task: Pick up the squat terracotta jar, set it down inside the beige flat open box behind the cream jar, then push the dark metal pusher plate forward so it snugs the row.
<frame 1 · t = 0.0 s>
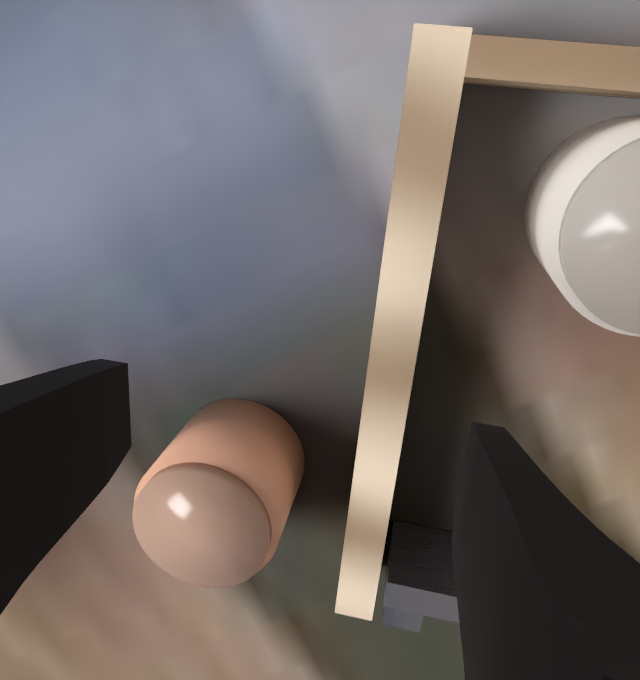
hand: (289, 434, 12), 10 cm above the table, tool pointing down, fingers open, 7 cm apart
pusher: (513, 616, 23), point 2 cm above the table, slide at 0.0 cm
beige flat open box: (567, 376, 20), on the table
terracotta jar: (242, 455, 24), on the table
cream jar: (614, 208, 18), resting in beige flat open box
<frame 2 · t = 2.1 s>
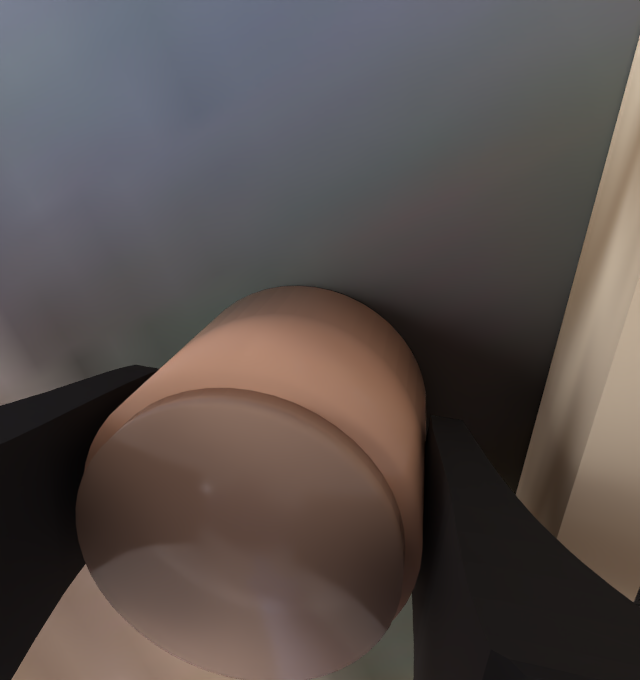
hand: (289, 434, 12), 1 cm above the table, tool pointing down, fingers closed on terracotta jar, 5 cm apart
terracotta jar: (303, 402, 13), on the table, touching gripper
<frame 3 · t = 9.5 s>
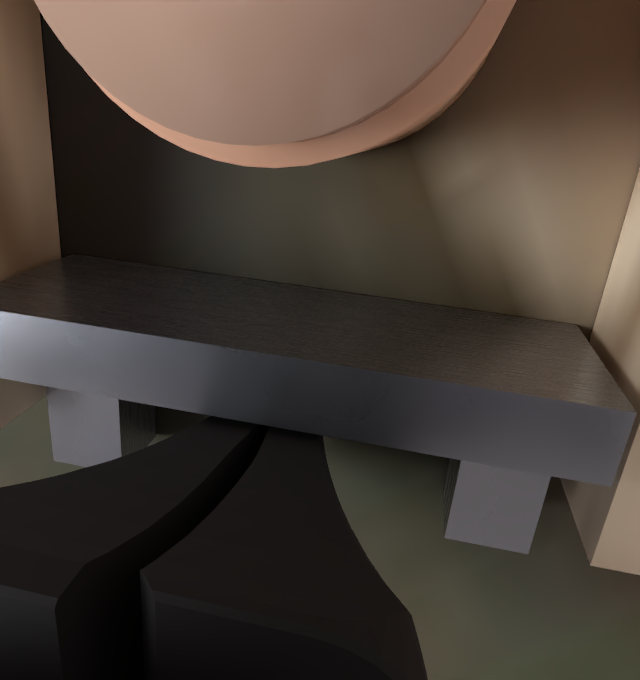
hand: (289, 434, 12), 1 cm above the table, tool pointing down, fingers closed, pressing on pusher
pusher: (281, 419, 11), point 2 cm above the table, slide at 0.4 cm, touching gripper
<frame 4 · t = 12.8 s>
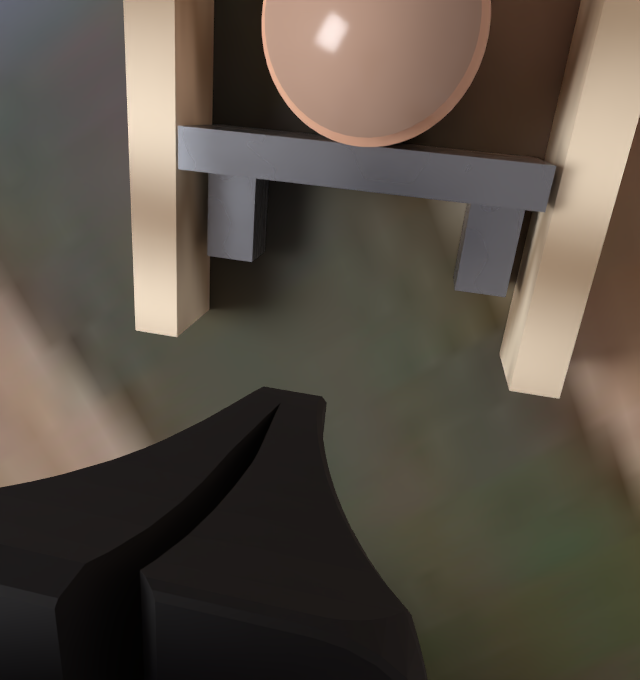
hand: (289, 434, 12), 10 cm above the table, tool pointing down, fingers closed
pusher: (357, 212, 18), point 2 cm above the table, slide at 4.2 cm
beige flat open box: (386, 14, 17), on the table
terracotta jar: (386, 47, 18), resting in beige flat open box
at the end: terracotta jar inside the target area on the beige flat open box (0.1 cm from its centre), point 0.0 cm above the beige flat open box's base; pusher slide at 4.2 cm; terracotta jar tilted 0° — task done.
